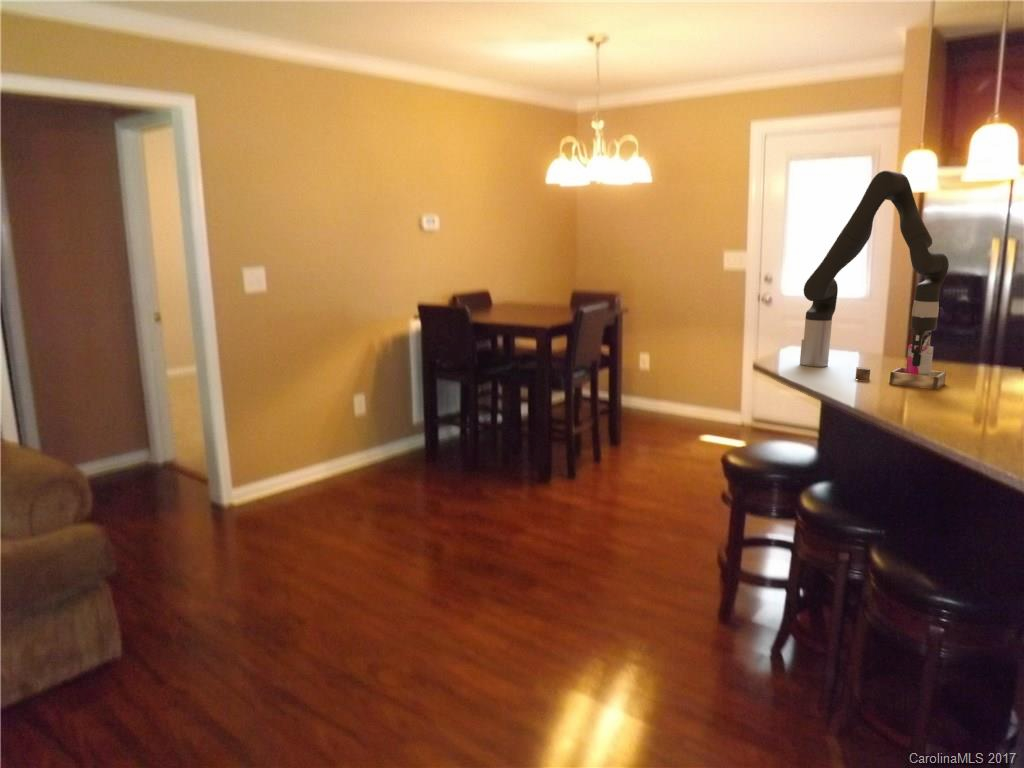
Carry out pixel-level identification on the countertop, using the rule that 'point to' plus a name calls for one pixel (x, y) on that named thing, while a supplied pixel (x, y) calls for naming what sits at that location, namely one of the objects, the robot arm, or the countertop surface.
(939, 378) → the crate
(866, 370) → the walnut block
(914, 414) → the countertop surface
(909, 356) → the supplement box
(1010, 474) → the countertop surface
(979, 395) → the countertop surface
